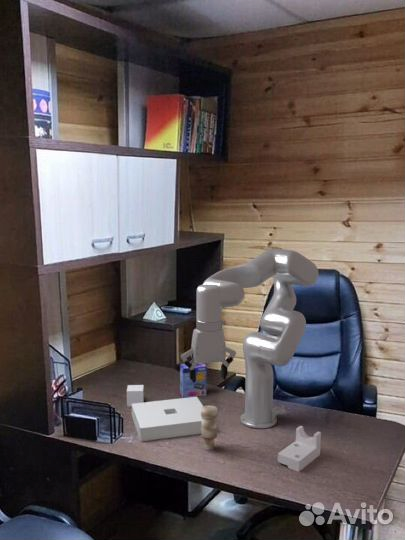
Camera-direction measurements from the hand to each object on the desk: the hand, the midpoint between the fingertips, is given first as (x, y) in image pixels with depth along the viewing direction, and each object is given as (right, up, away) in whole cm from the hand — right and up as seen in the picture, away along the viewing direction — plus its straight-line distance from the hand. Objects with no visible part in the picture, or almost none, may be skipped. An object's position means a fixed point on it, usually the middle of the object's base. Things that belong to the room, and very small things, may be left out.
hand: (208, 379), depth 168 cm
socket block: (-13, -19, +21) cm, 31 cm away
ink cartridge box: (-5, -15, +46) cm, 49 cm away
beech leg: (0, -22, +4) cm, 23 cm away
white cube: (-27, -17, +38) cm, 50 cm away
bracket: (+27, -24, -3) cm, 36 cm away
